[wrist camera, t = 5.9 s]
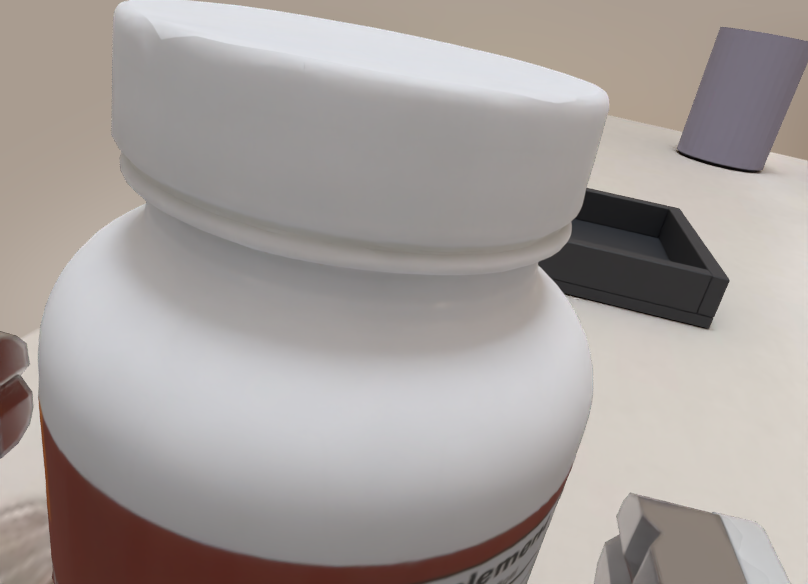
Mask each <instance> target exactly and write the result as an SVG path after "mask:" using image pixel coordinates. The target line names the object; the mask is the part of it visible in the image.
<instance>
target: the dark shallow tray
mask: <svg viewBox="0 0 808 584" xmlns="http://www.w3.org/2000/svg"><path fill="white" fill-rule="evenodd" d="M571 223H572V231H571V236H570V238H569V240H568V242H567V243H566V244H565V245H564V246H563V248H562V249H561V250H560V251H559V252H557V253H556V254H554V255H553V256H551V257H548V258H546V259H544V260H541V261H539V262H538V266H539V267H541V268H542V270H543V271H544V272H545V273H546V274H547V275H548V276H549V277H550V278H551V279H552V280H553V281H554V282H555V283H556V284H557V286H558V287H559V288H560V290H561V291H562V292H563V293H566V294H570V295H574V296H578V297H582V298H586V299H590V300H594V301H598V302H602V303H606V304H611V305H615V306H619V307H623V308H627V309H631V310H635V311H639V312H643V313H647V314H651V315H655V316H659V317H664V318H668V319H672V320H676V321H680V322H684V323H688V324H692V325H696V326H700V327H704V328H709V327H710V325H711V323H712V320H713V317H714V316H715V313H716V311H717V309H718V306H719V304H720V302H721V299H722V297H723V295H724V292H725V290H726V288H727V286H728V283H729V278H728V277H727V276H726V274H725V273H724V271H723V270H722V268H721V267H720V266H719V264H718V263H717V261H716V260H715V258H714V257H713V256H712V254H711V253H710V251H709V250H708V248H707V247H706V246H705V244H704V243H703V241H702V240H701V239H700V237H699V236H698V234H697V233H696V231H695V230H694V229H693V227H692V226H691V224H690V223H689V221H688V220H687V219H686V217H685V216H684V214H683V213H682V211H681V210H680V209H679V208H675V207H670V206H668V207H667V206H666V205H661V204H657V203H652V202H648V201H643V200H639V199H634V198H630V197H625V196H621V195H616V194H612V193H607V192H603V191H598V190H594V189H589V188H586V192H585V196H584V200H583V205H582V207H581V210H580V212H579V213H578V215H577V217H576V218H574V219H573V220H572V221H571Z"/></svg>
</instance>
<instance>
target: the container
mask: <svg viewBox="0 0 808 584" xmlns="http://www.w3.org/2000/svg"><path fill="white" fill-rule="evenodd" d="M807 63H808V41H803V40H799V39H794V38H789V37H783V36H778V35H773V34H767V33H761V32H755V31H749V30H742V29H735V28H727V27H720V30H719V33H718V36H717V38H716V41H715V44H714V47H713V50H712V52H711V55H710V58H709V61H708V63H707V66H706V69H705V72H704V75H703V77H702V80H701V83H700V86H699V88H698V91H697V94H696V97H695V100H694V102H693V105H692V108H691V111H690V114H689V116H688V119H687V122H686V125H685V127H684V130H683V133H682V136H681V139H680V141H679V144H678V147H677V149H678V150H679V151H680V153H681V154H683V155H685V156H687V157H689V158H692V159H695V160H698V161H701V162H704V163H707V164H711V165H715V166H719V167H723V168H728V169H733V170H738V171H746V172H756V171H757V170H762V169H763V167H764V165H765V162H766V160H767V157H768V155H769V153H770V150H771V148H772V146H773V143H774V141H775V138H776V136H777V134H778V131H779V129H780V127H781V124H782V122H783V120H784V117H785V115H786V112H787V110H788V108H789V105H790V103H791V101H792V98H793V96H794V94H795V91H796V88H797V86H798V84H799V82H800V79H801V77H802V75H803V72H804V70H805V68H806V65H807Z"/></svg>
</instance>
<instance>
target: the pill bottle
mask: <svg viewBox="0 0 808 584" xmlns="http://www.w3.org/2000/svg"><path fill="white" fill-rule="evenodd" d="M608 111H609V97H608V95H607V93H606V92H605V91H604V90H602V89H601V88H600V87H598V86H596V85H595V84H592V83H589V82H587V81H584V80H581V79H579V78H576V77H573V76H571V75H568V74H564V73H561V72H558V71H555V70H552V69H548V68H545V67H542V66H538V65H535V64H531V63H527V62H524V61H520V60H516V59H513V58H508V57H505V56H501V55H497V54H492V53H488V52H483V51H480V50H475V49H471V48H467V47H462V46H458V45H454V44H449V43H445V42H440V41H435V40H430V39H426V38H421V37H417V36H412V35H407V34H402V33H398V32H392V31H388V30H383V29H378V28H373V27H367V26H361V25H356V24H350V23H344V22H339V21H333V20H328V19H322V18H317V17H311V16H305V15H299V14H292V13H287V12H280V11H275V10H268V9H259V8H253V7H246V6H239V5H230V4H220V3H210V2H200V1H189V0H129V1H126V2H122V3H120V4H119V5H118V6H117V8H116V10H115V11H114V17H113V60H112V137H113V139H114V141H115V142H116V144H117V146H118V148H119V149H120V150H121V155H120V169H121V172H122V174H123V176H124V178H125V180H126V182H127V183H128V184H129V186H130V187H132V188H133V190H134V191H135V192H137V193H138V194H139V195H140V196H141V197H142V198H143V199H145V201H146V204H144V205H141V206H139V207H137V208H135V209H133V210H131V211H129V212H127V213H125V214H123V215H122V216H120V217H118V218H117V219H115V220H113V221H112V222H110V223H109V224H108V225H106V226H105V227H103V228H102V229H100V230H99V231H98V232H96V234H94V235H93V236H92V237H91V238H90V239H89V240H88V241H87V242H86V243H85V244H84V245H83V246H82V247H81V248H80V249H79V250H78V251H77V252H76V253H75V255H74V256H73V257H72V259H71V260H70V261H69V262H68V264H67V265H66V266H65V268H64V269H63V270H62V272H61V274H60V276H59V278H58V279H57V281H56V284H55V285H54V287H53V289H52V291H51V293H50V296H49V298H48V301H47V303H46V306H45V310H44V314H43V317H42V322H41V325H40V335H39V348H38V369H39V392H38V399H39V411H40V422H41V433H42V444H43V456H44V467H45V478H46V495H47V509H48V521H49V532H50V543H51V556H52V562H53V574H52V579H53V582H54V584H527V581H528V579H529V576H530V573H531V571H532V568H533V566H534V563H535V560H536V558H537V555H538V552H539V550H540V547H541V545H542V542H543V539H544V537H545V534H546V531H547V529H548V527H549V524H550V522H551V519H552V516H553V513H554V511H555V508H556V505H557V503H558V501H559V499H560V496H561V494H562V492H563V489H564V486H565V483H566V480H567V478H568V476H569V473H570V471H571V469H572V465H573V462H574V460H575V457H576V453H577V450H578V447H579V445H580V442H581V439H582V436H583V433H584V430H585V427H586V424H587V421H588V418H589V414H590V409H591V404H592V397H593V365H592V360H591V354H590V349H589V345H588V341H587V337H586V334H585V332H584V330H583V327H582V325H581V323H580V320H579V318H578V316H577V314H576V312H575V311H574V309H573V307H572V305H571V303H570V302H569V301H568V299H567V298H566V296H565V295H564V294H563V292H562V291H561V290H560V288H559V287H558V286H557V284H556V283H555V282H554V281H553V280H552V279H551V278H550V277H549V276H548V275H547V274H546V273H545V272H544V271H543V270H542V268H541V267H539V266H538V262H539V261H541V260H544V259H546V258H548V257H551V256H553V255H554V254H556V253H557V252H559V251H560V250H561V249H562V248H563V246H564V245H565V244H566V243H567V242H568V240H569V238H570V236H571V231H572V223H571V221H572V220H573V219H574V218H576V217H577V215H578V213H579V212H580V210H581V207H582V205H583V200H584V196H585V192H586V187H587V184H588V181H589V178H590V175H591V171H592V168H593V165H594V162H595V158H596V154H597V151H598V147H599V144H600V140H601V136H602V133H603V129H604V126H605V122H606V118H607V115H608Z"/></svg>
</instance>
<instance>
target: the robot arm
mask: <svg viewBox="0 0 808 584" xmlns="http://www.w3.org/2000/svg"><path fill="white" fill-rule="evenodd" d="M29 365H30V363H29V356H28V349H27V343H25V342H24V341H23V340H21V339H20V338H19V337H18V336H16V335H12V334H9V333H5V332H2V331H0V458H2V457H3V456H5V455H6V454H7V453H8V452H9V451H10V450H11V449H13V448H14V447H15V446H16V445H17V444H18V443H19V441H20V440H21V438H22V436H23V435H24V433H25V431H26V430H27V428H28V426H29V425H30V421H31V417H32V412H33V394H32V391H31V390H30V388H29V387H28V385H27V384H26V382H25V381H24V380H23V378H22V377H21V375H22V373H23V372H24V371H25V370H26V369H27V367H28V366H29ZM616 517H617V522H618V528H619V533H620V534H619V535H618V536H616V537H614V538H612V539H610V540H609V541H607V542H605V544H604V547H603V549H602V552H601V555H600V557H599V560H598V563H597V568H596V574H595V580H594V584H791V583H790V581H789V578H788V576H787V574H786V572H785V570H784V568H783V566H782V564H781V562H780V560H779V558H778V556H777V554H776V552H775V550H774V548H773V546H772V544H771V542H770V539H769V537H768V535H767V533H766V531H765V530H764V528H763V527H761V526H760V525H759V524H758V523H757V522H756V521H752V520H747V519H743V518H738V517H734V516H729V515H725V514H721V513H716V512H712V513H710V512H706V511H702V510H698V509H694V508H690V507H686V506H682V505H678V504H674V503H670V502H666V501H662V500H658V499H654V498H650V497H646V496H642V495H638V494H634V493H629V495H628V496H627V497H626V498H625V499H624V501H623V502H622V505H621V507H620V509H619V511H618V514H617V516H616Z"/></svg>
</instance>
